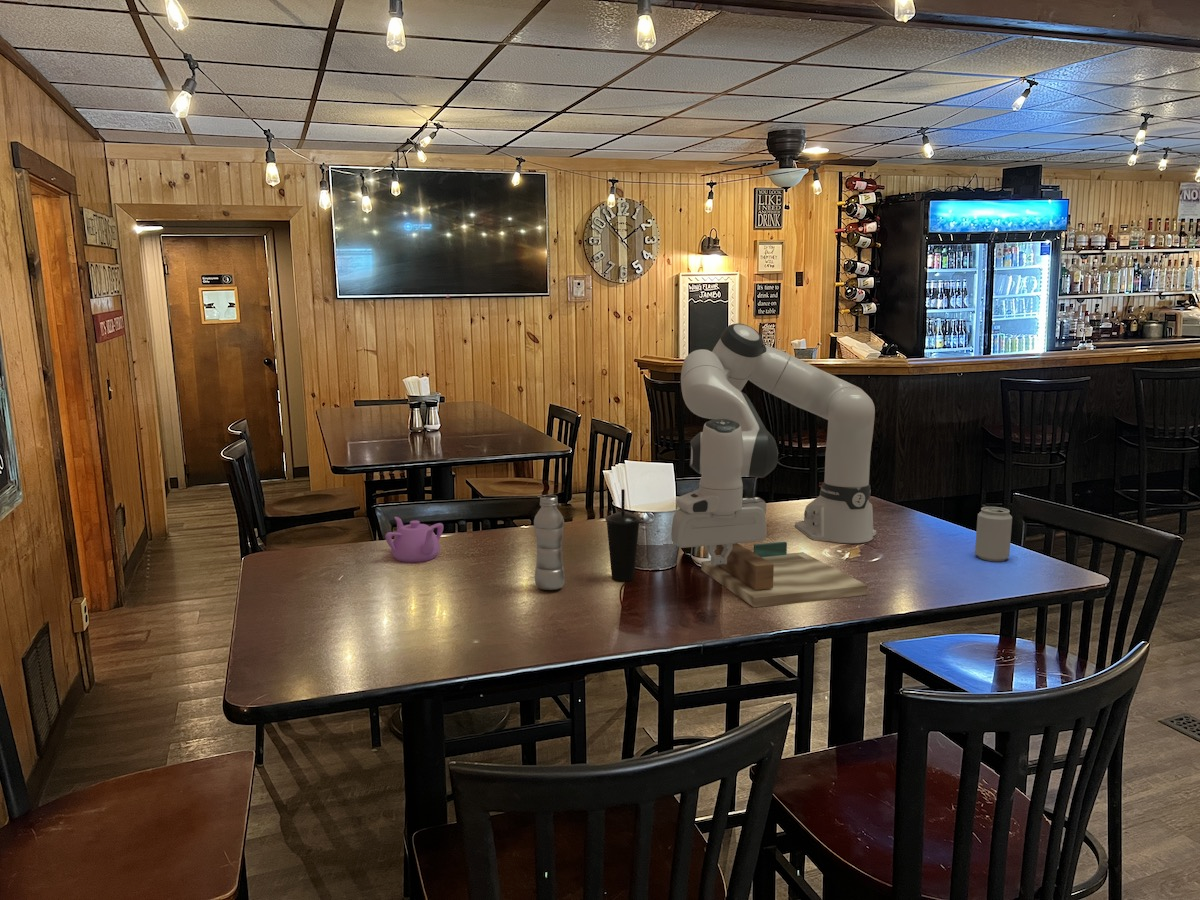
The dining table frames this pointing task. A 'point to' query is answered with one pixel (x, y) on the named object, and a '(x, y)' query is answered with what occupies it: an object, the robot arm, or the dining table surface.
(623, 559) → the drinking cup
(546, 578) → the plastic bottle
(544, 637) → the dining table surface
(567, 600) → the dining table surface
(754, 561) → the walnut leg
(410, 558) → the teapot
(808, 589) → the stool seat
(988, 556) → the can
